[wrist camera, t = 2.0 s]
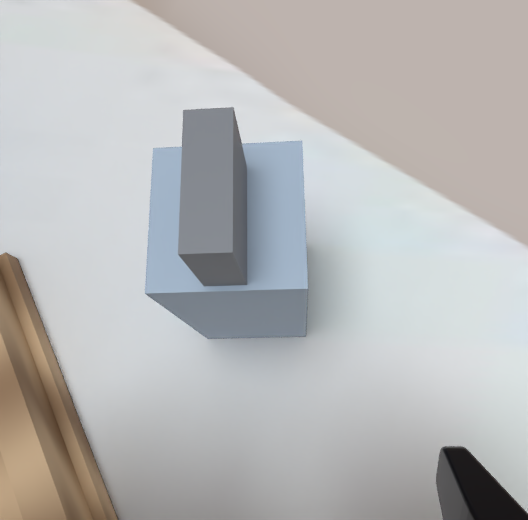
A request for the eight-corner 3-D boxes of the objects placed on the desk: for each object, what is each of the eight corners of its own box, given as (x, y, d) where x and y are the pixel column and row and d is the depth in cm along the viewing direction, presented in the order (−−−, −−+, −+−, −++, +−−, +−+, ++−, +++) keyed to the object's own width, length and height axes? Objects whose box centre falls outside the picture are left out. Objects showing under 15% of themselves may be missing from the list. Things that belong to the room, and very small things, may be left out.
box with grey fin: (305, 336, 23) (309, 256, 11) (207, 338, 23) (103, 263, 11) (302, 242, 24) (302, 76, 12) (209, 245, 24) (117, 86, 12)
